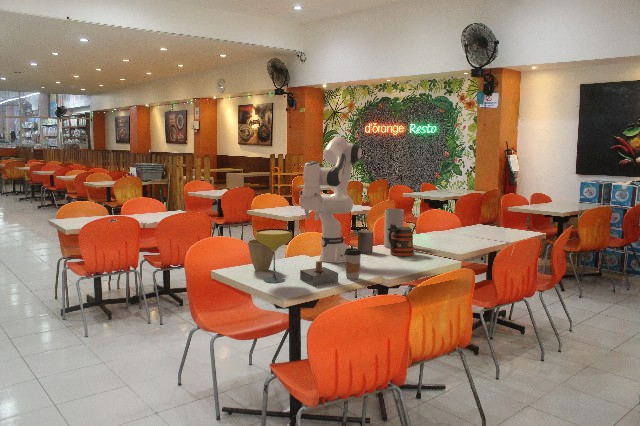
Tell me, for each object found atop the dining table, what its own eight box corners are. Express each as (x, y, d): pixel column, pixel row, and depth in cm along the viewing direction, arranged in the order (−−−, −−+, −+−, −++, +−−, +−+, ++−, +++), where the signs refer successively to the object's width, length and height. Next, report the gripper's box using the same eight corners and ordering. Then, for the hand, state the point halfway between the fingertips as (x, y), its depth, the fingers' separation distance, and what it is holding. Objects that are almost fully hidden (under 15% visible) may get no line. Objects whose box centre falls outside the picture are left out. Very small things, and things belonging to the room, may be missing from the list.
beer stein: (399, 258, 318) (400, 225, 316) (380, 255, 329) (381, 223, 326) (418, 254, 331) (419, 222, 329) (399, 251, 342) (400, 220, 339)
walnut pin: (319, 280, 268) (320, 260, 267) (322, 281, 266) (322, 261, 265) (314, 280, 267) (314, 261, 266) (317, 282, 264) (317, 262, 263)
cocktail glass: (280, 274, 280) (279, 227, 277) (299, 281, 266) (299, 232, 263) (249, 279, 270) (249, 230, 266) (268, 287, 255) (267, 235, 252)
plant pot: (246, 273, 282) (245, 243, 280) (250, 267, 296) (249, 238, 294) (274, 273, 282) (274, 244, 280) (277, 267, 296) (276, 239, 294)
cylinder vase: (386, 244, 363) (386, 208, 360) (404, 245, 359) (405, 209, 356) (382, 248, 351) (383, 210, 348) (401, 249, 347) (402, 211, 344)
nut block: (324, 276, 276) (324, 267, 275) (338, 282, 264) (338, 272, 263) (300, 279, 269) (300, 270, 268) (313, 286, 257) (313, 276, 256)
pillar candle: (354, 252, 336) (354, 229, 334) (362, 250, 344) (363, 227, 342) (367, 254, 330) (368, 231, 328) (375, 252, 338) (376, 229, 336)
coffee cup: (341, 278, 273) (341, 249, 271) (351, 275, 278) (352, 247, 276) (353, 281, 267) (353, 251, 265) (364, 278, 272) (364, 249, 270)
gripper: (326, 194, 270) (326, 220, 272) (308, 190, 288) (308, 216, 290) (316, 194, 267) (316, 221, 269) (297, 191, 285) (297, 216, 287)
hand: (311, 218), depth 280 cm, fingers open, 8 cm apart
